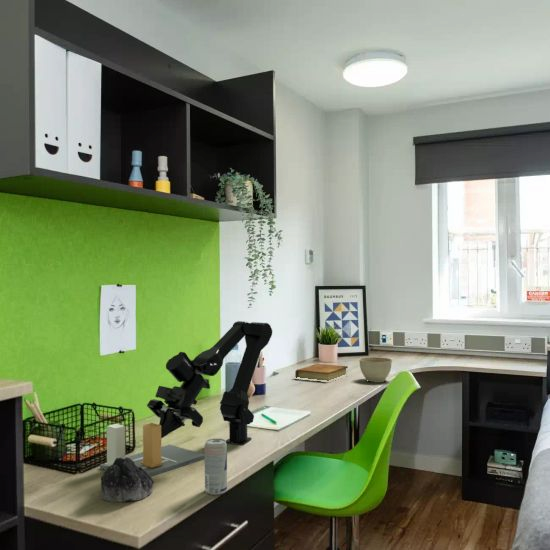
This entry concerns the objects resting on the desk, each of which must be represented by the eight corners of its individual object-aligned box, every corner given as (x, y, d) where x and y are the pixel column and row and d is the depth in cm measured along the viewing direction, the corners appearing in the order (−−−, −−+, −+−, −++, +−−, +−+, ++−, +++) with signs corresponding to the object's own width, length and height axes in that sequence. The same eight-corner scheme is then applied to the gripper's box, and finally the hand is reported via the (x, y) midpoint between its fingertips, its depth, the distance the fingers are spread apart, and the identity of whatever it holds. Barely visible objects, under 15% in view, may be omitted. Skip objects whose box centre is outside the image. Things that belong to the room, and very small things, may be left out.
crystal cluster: (139, 482, 144) (135, 443, 144) (166, 492, 134) (161, 450, 134) (89, 500, 135) (84, 459, 136) (114, 512, 125) (109, 467, 125)
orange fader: (152, 460, 155) (152, 422, 155) (163, 464, 152) (163, 425, 152) (140, 464, 152) (140, 425, 152) (151, 467, 149) (151, 428, 149)
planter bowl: (353, 381, 279) (353, 359, 279) (368, 377, 292) (368, 356, 292) (383, 385, 269) (382, 362, 269) (397, 380, 282) (397, 358, 282)
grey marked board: (169, 447, 171) (169, 444, 171) (205, 458, 161) (205, 454, 161) (100, 468, 153) (100, 464, 153) (135, 481, 142) (135, 477, 142)
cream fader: (117, 461, 155) (117, 423, 155) (127, 465, 151) (127, 425, 152) (104, 465, 151) (104, 426, 152) (114, 468, 148) (114, 429, 148)
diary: (316, 374, 306) (315, 363, 306) (347, 377, 296) (347, 366, 296) (295, 380, 286) (295, 369, 286) (328, 383, 276) (328, 372, 276)
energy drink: (227, 486, 138) (227, 438, 139) (226, 495, 133) (226, 444, 133) (205, 487, 138) (205, 438, 138) (203, 495, 133) (203, 444, 133)
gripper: (152, 371, 164) (119, 416, 155) (195, 378, 152) (162, 427, 143) (173, 394, 170) (143, 438, 161) (216, 402, 157) (186, 451, 149)
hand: (157, 438), depth 153 cm, fingers closed, pressing on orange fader
